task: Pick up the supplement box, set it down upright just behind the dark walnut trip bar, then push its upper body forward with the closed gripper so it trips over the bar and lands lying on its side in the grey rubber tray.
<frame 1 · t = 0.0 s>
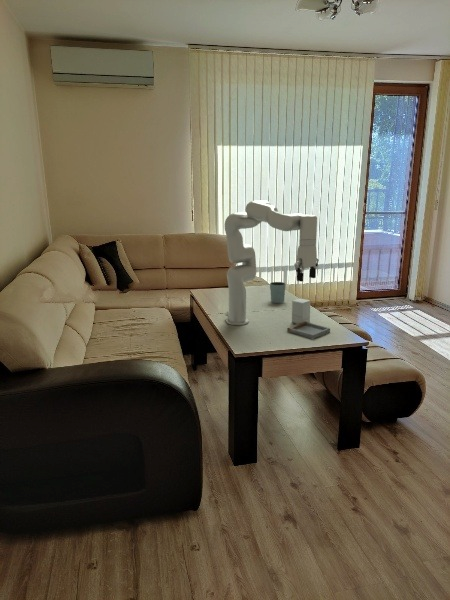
hand: (306, 279, 201), 31 cm above the table, fingers open, 9 cm apart
drinking glass: (277, 301, 282), on the table
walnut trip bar: (297, 328, 229), on the table
grey rubber tray: (309, 331, 224), on the table
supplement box: (300, 322, 240), on the table
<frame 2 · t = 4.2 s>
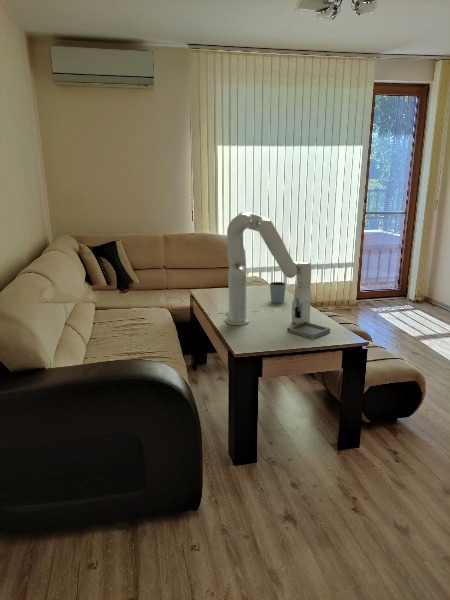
hand: (302, 315, 238), 4 cm above the table, fingers closed on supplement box, 7 cm apart
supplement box: (300, 322, 240), on the table, touching gripper
everything else where it was.
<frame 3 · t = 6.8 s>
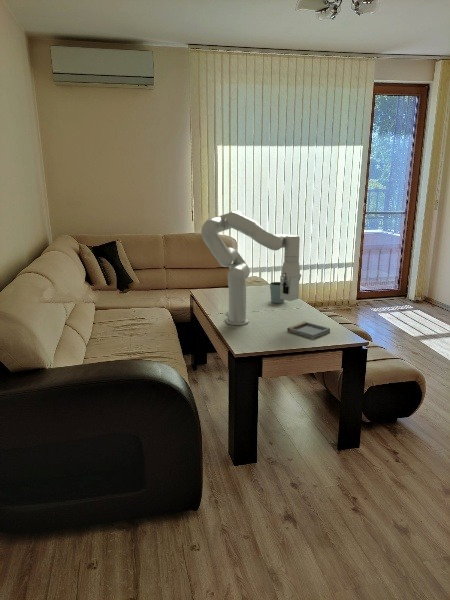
hand: (290, 292, 228), 19 cm above the table, fingers closed on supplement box, 7 cm apart
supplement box: (289, 299, 230), point 15 cm above the table, touching gripper
everything else where it was.
when the fingers open (5 cm above the table, at t = 9.4 s): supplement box stays where it is, on the table.
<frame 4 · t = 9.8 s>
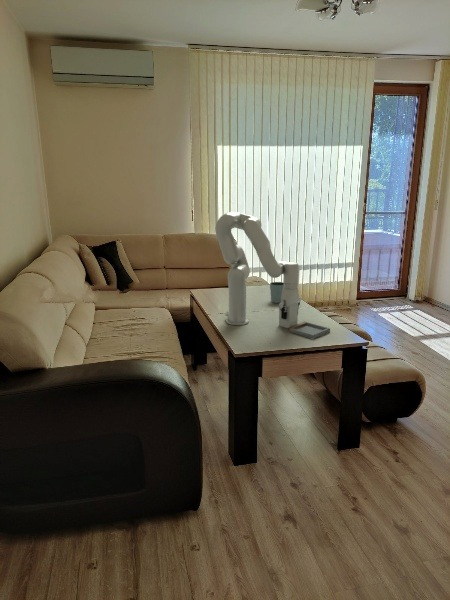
hand: (289, 316, 232), 5 cm above the table, fingers open, 9 cm apart
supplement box: (288, 326, 234), on the table
everything else where it was.
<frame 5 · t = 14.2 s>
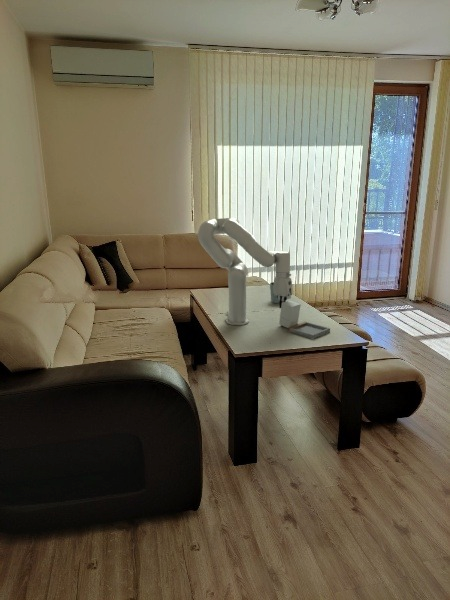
hand: (282, 307, 235), 9 cm above the table, fingers closed
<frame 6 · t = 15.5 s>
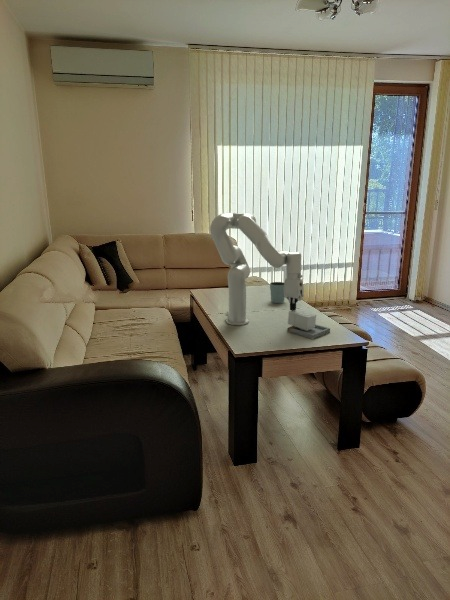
hand: (292, 309, 230), 10 cm above the table, fingers closed
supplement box: (291, 316, 231), point 6 cm above the table, touching gripper, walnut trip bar
everything else where it was.
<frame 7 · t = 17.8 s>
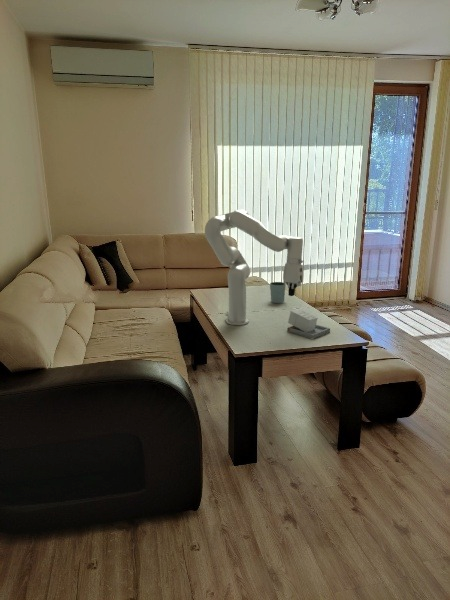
hand: (291, 295, 228), 17 cm above the table, fingers closed
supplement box: (292, 315, 230), point 7 cm above the table, touching grey rubber tray, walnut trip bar
everything else where it was.
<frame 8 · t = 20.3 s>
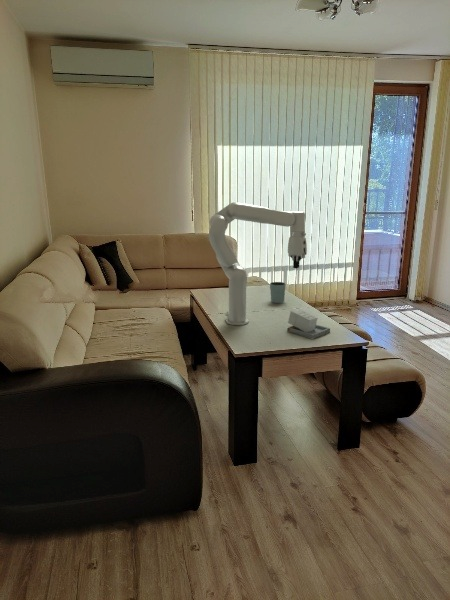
hand: (296, 267, 240), 29 cm above the table, fingers closed
nothing on the table moved.
at the end: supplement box tilted 102°; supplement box inside the target area (9.9 cm from its centre), point 6.7 cm above the table; the gripper is holding nothing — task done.
